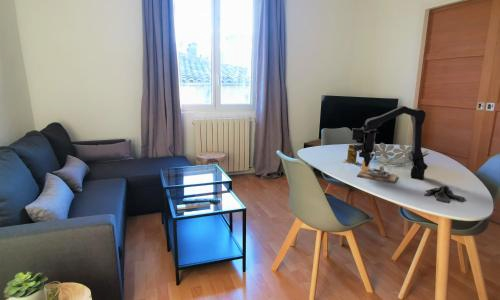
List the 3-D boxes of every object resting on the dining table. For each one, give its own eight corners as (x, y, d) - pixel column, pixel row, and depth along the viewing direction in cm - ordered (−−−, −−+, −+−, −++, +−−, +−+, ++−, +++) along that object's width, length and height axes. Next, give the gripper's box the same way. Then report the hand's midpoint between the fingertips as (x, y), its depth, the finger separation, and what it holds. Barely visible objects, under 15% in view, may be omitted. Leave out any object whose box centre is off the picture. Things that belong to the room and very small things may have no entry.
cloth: (443, 188, 163) (445, 177, 161) (475, 202, 145) (477, 190, 144) (407, 191, 158) (408, 180, 156) (436, 206, 140) (438, 193, 139)
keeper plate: (397, 176, 179) (398, 165, 177) (394, 183, 168) (395, 171, 167) (362, 171, 189) (363, 160, 188) (356, 176, 179) (358, 165, 177)
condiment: (355, 163, 205) (357, 146, 202) (342, 162, 209) (344, 145, 206) (357, 161, 211) (359, 144, 208) (345, 159, 215) (346, 143, 212)
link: (388, 174, 179) (391, 164, 178) (386, 178, 172) (388, 168, 170) (362, 167, 187) (365, 158, 185) (359, 170, 179) (361, 161, 178)
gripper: (359, 136, 189) (356, 160, 193) (350, 141, 174) (348, 167, 178) (378, 138, 183) (375, 163, 187) (371, 144, 168) (368, 171, 172)
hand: (366, 166), depth 181 cm, fingers closed on link
